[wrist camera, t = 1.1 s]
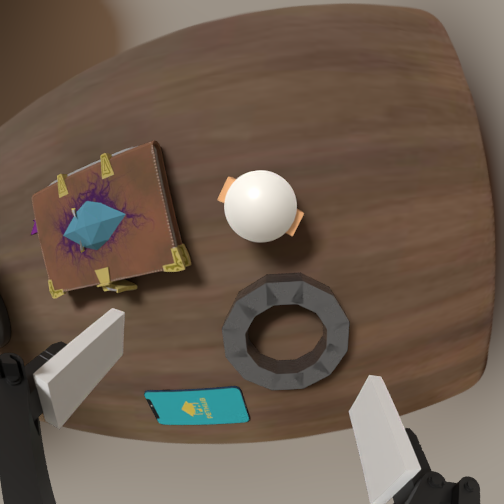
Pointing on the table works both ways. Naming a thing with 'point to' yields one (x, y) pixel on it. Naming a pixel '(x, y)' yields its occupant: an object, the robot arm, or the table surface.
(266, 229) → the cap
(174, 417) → the smartphone
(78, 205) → the book
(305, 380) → the faceted grey ring
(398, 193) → the table surface
